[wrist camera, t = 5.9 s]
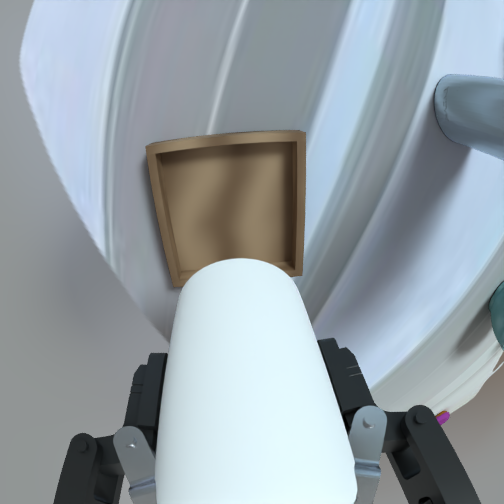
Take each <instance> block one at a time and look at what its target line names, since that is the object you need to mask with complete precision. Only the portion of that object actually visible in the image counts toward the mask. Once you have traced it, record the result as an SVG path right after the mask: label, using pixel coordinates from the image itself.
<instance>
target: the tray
mask: <svg viewBox="0 0 504 504" xmlns="http://www.w3.org/2000/svg"><path fill="white" fill-rule="evenodd" d="M146 154H147V161H148V168H149V174H150V180H151V186H152V192H153V197H154V203H155V208H156V213H157V218H158V223H159V228H160V233H161V237H162V242H163V246H164V251H165V255H166V259H167V263H168V267H169V271H170V275H171V279H172V283H173V287H184V285H185V284H186V282H187V281H188V280H189V279H190V278H191V277H192V276H193V275H194V274H195V273H196V272H198V271H199V270H201V269H202V268H204V267H206V266H208V265H210V264H213V263H216V262H219V261H223V260H228V259H237V258H246V259H255V260H260V261H264V262H267V263H269V264H272V265H274V266H276V267H278V268H279V269H281V270H282V271H284V272H285V273H286V274H287V275H288V276H289V277H295V276H302V272H303V253H304V230H305V195H306V132H303V131H300V130H276V131H253V132H237V133H225V134H214V135H205V136H196V137H188V138H181V139H174V140H167V141H161V142H155V143H151V144H149V145H147V146H146Z"/></svg>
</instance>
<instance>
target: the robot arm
mask: <svg viewBox="0 0 504 504" xmlns="http://www.w3.org/2000/svg"><path fill="white" fill-rule="evenodd" d="M434 102H435V112H436V117H437V120H438V123H439V125H440V127H441V129H442V131H443V132H444V134H445V135H446V136H447V137H448V138H449V139H450V140H452V141H454V142H456V143H459V144H462V145H465V146H468V147H471V148H474V149H476V150H479V151H481V152H484V153H487V154H489V155H492V156H494V157H497V158H499V159H501V160H504V79H503V78H495V77H486V76H475V75H460V74H450V75H446V76H445V77H443V78H442V79H441V80H440V81H439V83H438V85H437V88H436V92H435V101H434ZM317 343H318V346H319V349H320V351H321V354H322V357H323V360H324V363H325V366H326V369H327V372H328V375H329V378H330V381H331V384H332V388H333V391H334V394H335V397H336V400H337V403H338V406H339V409H340V413H341V416H342V419H343V422H344V426H345V429H346V432H347V436H348V440H349V443H350V447H351V450H352V454H353V457H354V461H355V465H354V472H355V477H356V482H357V494H356V498H357V499H356V502H355V503H354V504H373V501H374V497H375V494H376V490H377V487H378V483H379V479H380V474H381V469H380V467H379V460H380V456H381V453H384V452H386V454H387V457H388V459H389V461H390V463H391V465H392V467H393V469H394V471H395V474H396V476H397V478H398V480H399V482H400V485H401V487H402V489H403V491H404V494H405V496H406V498H407V500H408V503H409V504H481V502H480V500H479V498H478V496H477V494H476V492H475V489H474V487H473V485H472V483H471V481H470V479H469V477H468V475H467V473H466V471H465V469H464V467H463V465H462V464H461V462H460V460H459V458H458V456H457V454H456V452H455V450H454V449H453V447H452V445H451V443H450V441H449V440H448V438H447V436H446V434H445V433H444V431H443V429H442V427H441V426H440V424H439V422H438V421H437V419H436V417H435V415H434V414H433V412H432V411H431V410H430V409H429V408H428V407H426V406H423V405H416V406H414V407H412V408H410V409H409V410H408V412H387V411H384V410H382V409H380V408H379V407H378V406H377V405H376V404H375V403H374V401H373V399H372V396H371V394H370V391H369V389H368V386H367V384H366V381H365V379H364V377H363V374H362V372H361V370H360V367H359V366H358V363H357V360H356V358H355V356H354V354H353V353H352V352H351V351H350V350H349V349H347V348H346V347H345V348H340V349H339V347H338V345H337V342H336V340H335V339H334V338H329V339H323V340H317ZM167 358H168V354H167V353H151V354H150V355H149V359H148V364H147V365H140V366H139V368H138V369H137V371H136V372H135V374H134V377H133V382H132V387H131V391H130V392H131V394H130V397H129V401H128V406H127V412H126V416H125V421H124V425H123V427H122V428H120V429H119V430H118V431H117V432H116V433H115V434H114V435H111V436H106V437H100V438H93V437H92V436H90V435H89V434H86V433H80V434H78V435H76V436H74V437H73V438H72V440H71V442H70V445H69V449H68V452H67V455H66V458H65V462H64V465H63V468H62V472H61V475H60V479H59V483H58V487H57V491H56V495H55V499H54V503H53V504H119V499H120V493H121V488H122V483H123V478H124V475H126V477H127V479H128V481H129V484H130V488H129V495H130V497H131V500H132V501H133V504H157V499H156V482H155V462H156V448H157V437H158V426H159V417H160V408H161V400H162V392H163V385H164V378H165V371H166V364H167Z"/></svg>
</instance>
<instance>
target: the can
mask: <svg viewBox="0 0 504 504" xmlns="http://www.w3.org/2000/svg"><path fill="white" fill-rule="evenodd" d="M354 465H355V461H354V457H353V454H352V450H351V447H350V443H349V440H348V436H347V432H346V429H345V426H344V422H343V419H342V416H341V413H340V409H339V406H338V403H337V400H336V397H335V394H334V391H333V388H332V384H331V381H330V378H329V375H328V372H327V369H326V366H325V363H324V360H323V357H322V354H321V351H320V349H319V346H318V343H317V340H316V337H315V334H314V331H313V328H312V326H311V323H310V320H309V317H308V314H307V312H306V309H305V306H304V304H303V301H302V298H301V296H300V293H299V291H298V289H297V287H296V285H295V283H294V282H293V280H292V279H291V278H290V277H289V276H288V275H287V274H286V273H285V272H284V271H282V270H281V269H279V268H278V267H276V266H274V265H272V264H269V263H267V262H264V261H260V260H255V259H246V258H237V259H228V260H223V261H219V262H216V263H213V264H210V265H208V266H206V267H204V268H202V269H201V270H199V271H198V272H196V273H195V274H194V275H193V276H192V277H191V278H190V279H189V280H188V281H187V282H186V284H185V285H184V287H183V288H182V291H181V293H180V296H179V299H178V303H177V308H176V313H175V318H174V323H173V329H172V334H171V340H170V346H169V352H168V358H167V364H166V371H165V378H164V385H163V392H162V400H161V408H160V417H159V426H158V437H157V448H156V462H155V482H156V499H157V504H354V503H355V502H356V499H357V498H356V494H357V482H356V477H355V472H354Z"/></svg>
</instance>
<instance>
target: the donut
mask: <svg viewBox="0 0 504 504" xmlns="http://www.w3.org/2000/svg"><path fill="white" fill-rule="evenodd" d="M449 416H450V415H449V412H447V411H442V412H441V413H439V414H438V415H436V416H435V417H436V419H437V421H438V422H439V424H440V425H442V424H443V423H445V422H446V421H447V420H448V419H449Z"/></svg>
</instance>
